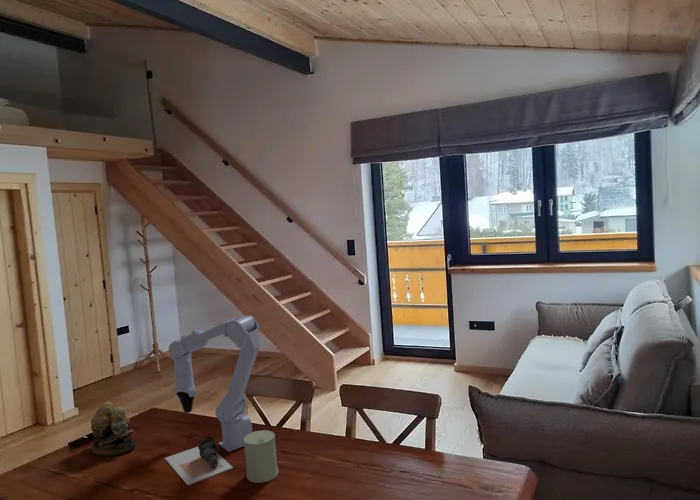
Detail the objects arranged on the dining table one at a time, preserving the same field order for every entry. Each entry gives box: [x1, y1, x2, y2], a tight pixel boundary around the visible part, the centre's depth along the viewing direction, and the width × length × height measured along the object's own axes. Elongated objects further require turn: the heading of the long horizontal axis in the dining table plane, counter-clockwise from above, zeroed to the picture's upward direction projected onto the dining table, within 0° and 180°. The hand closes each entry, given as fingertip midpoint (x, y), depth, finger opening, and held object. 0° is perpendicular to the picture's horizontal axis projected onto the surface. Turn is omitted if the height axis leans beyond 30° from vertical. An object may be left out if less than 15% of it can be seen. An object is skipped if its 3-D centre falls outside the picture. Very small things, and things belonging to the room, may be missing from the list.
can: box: [243, 429, 279, 484], centre depth 151 cm, size 9×9×12 cm
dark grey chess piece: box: [197, 436, 219, 468], centre depth 161 cm, size 6×6×12 cm
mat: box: [164, 446, 234, 486], centre depth 162 cm, size 14×22×1 cm, turn 36°
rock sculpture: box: [89, 401, 136, 458], centre depth 177 cm, size 18×12×17 cm, turn 67°
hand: (188, 411), depth 178 cm, fingers closed
